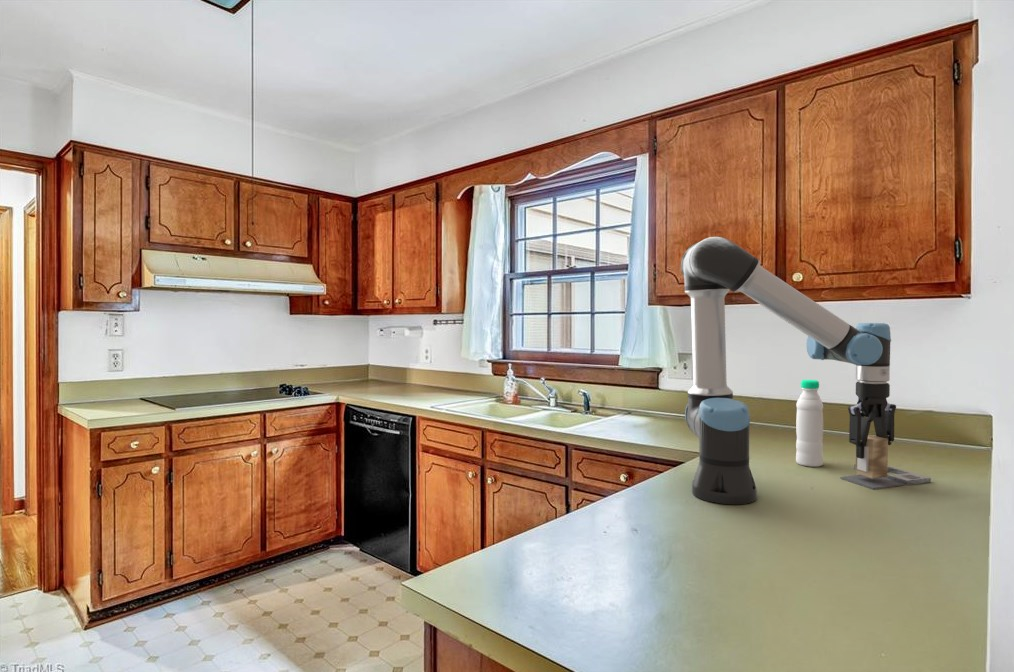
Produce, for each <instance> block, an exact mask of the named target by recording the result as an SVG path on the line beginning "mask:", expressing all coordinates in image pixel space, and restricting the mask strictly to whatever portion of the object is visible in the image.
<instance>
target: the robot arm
mask: <svg viewBox="0 0 1014 672" xmlns="http://www.w3.org/2000/svg"><path fill="white" fill-rule="evenodd" d="M680 262H681V263H680V269H681V273H682V276H683V279H684V293H685V294H686V295H687V296H688V297H689V298H690V309H691V310H690V312H691V313H690V314H691V344H692V345H691V347H692V348H691V349H692V350H691V352H692V353H691V354H692V381H693V382H692V386H691V387H690V388H689V389H688V390H687V404H686V407H685V411H684V417H685V422H686V424H687V427H688V429H689V430H690V431H691V433H693V434H694V435H695V436H696V437H697V438H698V440H699V442H698V443H699V447H698V448H699V449H698V452H699V454H698V455H699V457H698V458H699V461H698V466H697V468H696V470H695V471H696V472H695V475H694V478H693V481H692V482H691V493H692V494H693V496H695V497H697V498H698V499H700V498H701V499H700V500H703V501H707V502H710V501H711V503H714V502H715V503H716V504H720V505H721V504H722V505H746V504H751V503H753V502H755V501H756V500H757V499H758V489H757V486H756V483H755V479H754V476H753V474H752V470H751V468H750V423H751V416H750V410H749V407H748V406H747V404H746V403H744V402H743V401H741V400H737V399H736V400H735V399H734V391H733V390H732V389H731V388H730V387H729V386H728V383H727V351H726V349H727V348H726V347H727V346H726V342H727V341H726V340H727V339H726V311H725V310H726V307H725V306H726V305H725V301H726V300H725V297H726V295H728V293H729V292H730V291H732V292H733V293H738V292H739V293H742V294H744V295H745V296H747V297H748V298H750V299H751V300H753V301H754V302H756V303H757V304H759V305H760V306H762V307H763V308H765V309H767V310H768V311H769V312H771V313H773V314H774V315H776V316H777V317H779V318H780V319H782V320H783V321H785V322H786V323H788V324H789V325H791V326H793V327H794V328H795V329H797V330H799V331H800V332H801V333H803V334H804V335H806V336H807V338H806V352H807V354H808V356H809V358H811V359H812V360H820V361H825V360H827V361H828V360H831V361H836V362H837V361H838V362H842V363H848V364H853V365H854V366H855V380H857V381H856V383H855V395H856V397H857V398H858V400H857V403H856V404H855V405H853V406H852V405H849V406H848V408H847V409H848V414H849V431H848V433H849V435H848V437H849V438H848V442H849V443H850V444H852V445H855V458H856V457H857V469H859V470H862V471H865V472H868V459H869V447H867V446H866V443H867V438H868V435H870V428H871V424H872V423H873V426H874V431H875V436H878V437H882V438H886V439H888V446H891V445H892V443H893V442H894V441H895V413H896V409H897V405H896V404H894V403H893V404H892V403H889V402H888V400H887V398H889V397H890V395H891V394H890V393H891V391H890V389H891V387H890V386H891V385H890V383H889V381H890V378H891V377H890V374H891V373H890V372H891V371H890V369H891V367H890V366H891V342H892V339H891V328H890V325H889V324H887V323H884V322H860V323H857V325H856V327H855V326H852V325H851V324H849V322H847V321H845V320H843V319H842V318H840V317H839V316H837V315H836V314H835V313H833V312H832V311H830V310H828V309H826V308H825V306H824V307H823V306H822V305H820V304H819V303H817V302H816V301H814V300H812V298H810V297H808V296H807V295H806V294H803V293H802V292H800V291H799V290H797V289H796V288H794V287H793V286H792V285H790V284H788V283H787V282H785V281H784V280H783V279H781V278H780V277H778V276H776V275H775V274H773V273H772V272H770V271H769V270H767V269H766V268H764V267H763V266H762V265H761V261H760V259H759V258H757V257H755V256H754V255H752V254H751V253H750V252H748V251H747V250H745V249H744V248H743V247H741V246H739V244H737V243H735V242H733V241H732V240H729V239H727V238H725V237H721V236H710V237H706V238H704V239H702V240H701V241H699V242H696V243H693V245H691V246H690V247H688V249H687V250H686V251H685V252H684V254H683V256H682V258H681V261H680Z"/></svg>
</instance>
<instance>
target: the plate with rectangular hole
mask: <svg viewBox="0 0 1014 672" xmlns="http://www.w3.org/2000/svg"><path fill="white" fill-rule="evenodd" d="M853 470H856V464H854V465H853ZM888 472H891V473H894V474H889V473H887V477H882V478H886V479H889V480H892V481H895V482H899V483H902V484H904V486H910V485H911V486H912V485H922V484H928V483H931V479H932V478H931V477H930V476H929V477H928V476H926V475H923V474H922V475H921V474H918V473H915V472H912V471H908V470H904V469H901V468H897V467H894V466H890V465H888Z"/></svg>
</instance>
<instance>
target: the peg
mask: <svg viewBox="0 0 1014 672" xmlns="http://www.w3.org/2000/svg"><path fill="white" fill-rule="evenodd" d="M866 446H867V447H869V459H868V472H865V471H862V470H859V469H857V457H856V456H855V465H856V469H855V475H862V476H866V477H869V478H872V479H873V478H882V477H887V474H889V473H888V472H889V471H888V466H889V462H888V460H889V459H888V458H889V445H888V439H886V438H882V437H878V436H876V435H873V434H868V438H867V443H866Z"/></svg>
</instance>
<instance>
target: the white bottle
mask: <svg viewBox="0 0 1014 672" xmlns="http://www.w3.org/2000/svg"><path fill="white" fill-rule="evenodd" d="M800 389H801V390H802V393H801V394H800V395H799V398H797V401H796V404H795V405H796V418H795V419H796V422H795V425H796V427H795V428H796V429H795V431H796V441H795V447H796V452H795V453H796V454H795V462H796V463H797V464H798V465H800V466H804V467H810V468H814V467H815V468H818V467H821V466H822V465H823V464H824V456H823V450H824V449H823V448H824V443H823V438H824V437H823V436H824V414H823V410H824V404H823V401H822V399H821V397H820V395H819V393H818V391H819V389H820V381H818V380H816V379H802V380H801V381H800Z"/></svg>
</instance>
